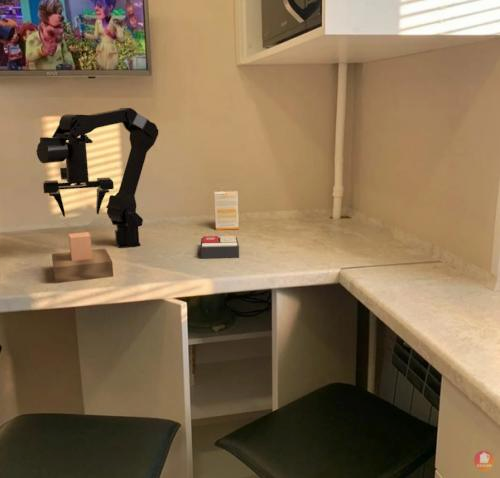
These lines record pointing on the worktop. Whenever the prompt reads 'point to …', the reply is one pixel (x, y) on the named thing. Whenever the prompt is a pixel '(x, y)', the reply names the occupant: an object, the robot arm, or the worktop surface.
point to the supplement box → (226, 210)
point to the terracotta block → (80, 246)
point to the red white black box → (219, 247)
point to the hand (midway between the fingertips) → (81, 215)
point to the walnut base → (82, 266)
